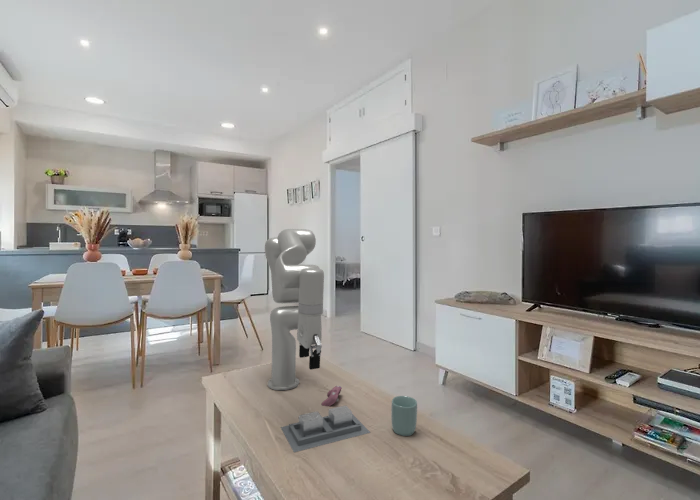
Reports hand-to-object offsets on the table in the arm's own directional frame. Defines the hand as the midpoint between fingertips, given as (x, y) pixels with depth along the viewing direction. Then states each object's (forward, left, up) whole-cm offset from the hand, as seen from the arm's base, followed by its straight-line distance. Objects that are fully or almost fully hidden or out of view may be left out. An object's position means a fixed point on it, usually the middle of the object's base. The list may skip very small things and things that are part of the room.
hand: (309, 362), depth 109 cm
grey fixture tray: (+5, +4, -21) cm, 22 cm away
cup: (+15, +26, -21) cm, 36 cm away
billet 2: (+5, +9, -20) cm, 22 cm away
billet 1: (+5, -1, -20) cm, 20 cm away
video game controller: (-13, +14, -21) cm, 28 cm away
